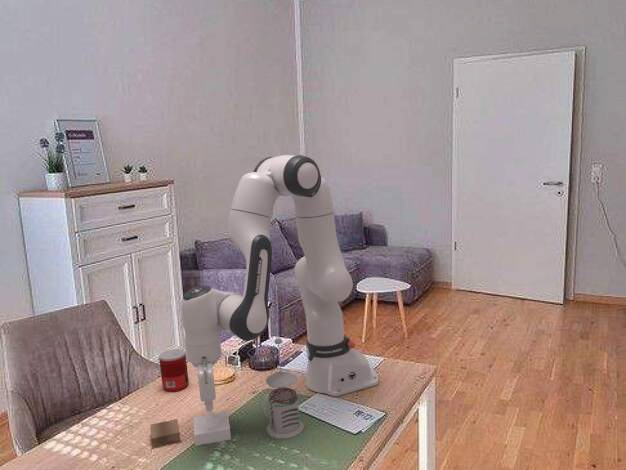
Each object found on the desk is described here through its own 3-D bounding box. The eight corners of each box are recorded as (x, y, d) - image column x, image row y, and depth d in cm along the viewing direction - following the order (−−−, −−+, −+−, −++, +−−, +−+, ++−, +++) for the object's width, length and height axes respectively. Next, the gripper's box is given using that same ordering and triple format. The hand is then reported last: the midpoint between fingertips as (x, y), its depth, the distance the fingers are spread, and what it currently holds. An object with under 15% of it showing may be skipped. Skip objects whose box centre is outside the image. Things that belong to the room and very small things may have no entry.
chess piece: (216, 428, 135) (212, 392, 133) (198, 428, 136) (194, 392, 134) (222, 418, 140) (218, 383, 138) (204, 417, 141) (200, 383, 139)
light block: (228, 421, 144) (227, 411, 143) (231, 439, 135) (230, 428, 134) (194, 427, 142) (193, 417, 141) (195, 446, 133) (194, 435, 133)
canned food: (192, 386, 165) (188, 354, 163) (167, 395, 161) (163, 361, 159) (183, 378, 171) (180, 346, 169) (159, 386, 167) (155, 353, 165)
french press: (311, 427, 138) (305, 337, 134) (276, 446, 131) (268, 351, 126) (288, 413, 146) (281, 328, 141) (253, 431, 138) (245, 341, 133)
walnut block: (178, 428, 142) (177, 418, 142) (180, 442, 136) (179, 432, 135) (151, 435, 140) (150, 424, 139) (152, 449, 134) (151, 438, 133)
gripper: (218, 365, 125) (223, 418, 127) (214, 334, 144) (219, 381, 147) (191, 369, 123) (197, 423, 126) (190, 337, 143) (195, 384, 146)
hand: (208, 400), depth 137 cm, fingers open, 8 cm apart
